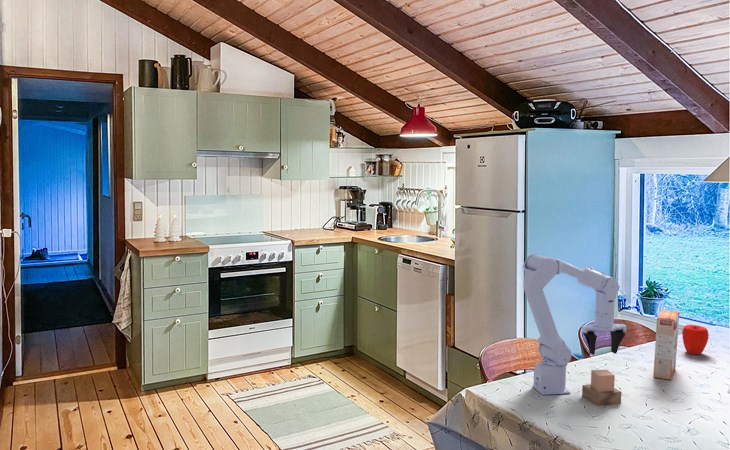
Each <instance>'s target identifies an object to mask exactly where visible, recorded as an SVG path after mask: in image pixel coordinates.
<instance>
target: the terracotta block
mask: <svg viewBox="0 0 730 450" xmlns="http://www.w3.org/2000/svg"><path fill="white" fill-rule="evenodd" d="M590 373H591V374H590V384H591V386H592V387H593V388H594V389H595V390H597V391H598V392H606V391H614V388H615V381H616V379H615V378H616V377H615V376H616V375H615V374H614V373H612V372H611V371H609V370H608V369H590Z"/></svg>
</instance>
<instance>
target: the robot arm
mask: <svg viewBox="0 0 730 450" xmlns="http://www.w3.org/2000/svg"><path fill="white" fill-rule="evenodd" d="M522 269H523V272H524V274H523V275H524V276H523V291H524V294H525V296H526V298H527V302H528V305H529V308H530V310H531V313H532V317H533V319H534V322H535V324H536V328H537V330H538V333H539V337H538V338H537V342H538V353H539V355H540V356H541V360H542V361H541V362H539V363H535V364H534V368H533V384H532V388H534V389H535V390H536V391H538V392H539V394H541V395H543V396H544V395H563V394H565V395H566V394H571V393H572V392H571V391H570V389H568V388H566V383H567V382H566V380H567V375H566V374H567V366H568V364H569V363H570V361H571V359H572V356H573V355H572V351H571V349H570V348H569V347H568V345H567V344H566V341H565V340H564V339H563V337H561V335H560V334H559V333H558V330H557V327H556V323H555V320H554V317H553V315H552V312H551V309H550V306H549V303H548V301H547V298H546V295H545V293H544V289H545V287H546V286H547V285H549V283H550V281H552V279H554V278H555V276H556V275H561V273H562V274H565V275H567V276H571V277H573V278H576V280H577V282H578V284H580V285H582V286H584V287H587V288H589V289H592V290H594V291H595V312H594V313H595V314H594V315H595V316H594V323H593V324H592V323H591V324H585V325H581V332H582V334H583V336H584V338H585V341H586V343H587V346H588V351H589V354H590V355H595V353H596V342H597V338H598V335H597V334H596V333H601V332H602V333H603V332H610V338H611V339H610V340H611V344H610V347H611V348H610V350H611V353H612V354H614V355H615V354H618V349H619V347H620V344H621V342H622V341H623V339H624V338H625V336H626V333H625V332H627V327H628V326H627V325H625V324H624V323H620V324H619V323H614V322H615V301H616V299H617V294H618V292H619V290H620V287H621V286H620V285H619V282H618V280H617V279H616V278H614V277H613V276H609V275H606V273H605V272H602V271H601V272H599V271H597V270H595V268H594V267H592V266H588V267H587V266H585V267H582V268H579V267H577V266H576V265H575V266H574V265H573V264H571V263H569V262H567V261H564V260H561V259H558V258H554V257H550V256H549V257H548V256H544V255H539V254H536V253H532V254H530V255H528V256H527V258H526V260H525V261H524V263H523V265H522Z"/></svg>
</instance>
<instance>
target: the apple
mask: <svg viewBox="0 0 730 450" xmlns="http://www.w3.org/2000/svg"><path fill="white" fill-rule="evenodd" d="M681 333H682V334H681V335H682V342H683V346H684V349H685V351H686V353H688V354H691V355H695V354H699V355H700V354H703V352H704V350H705V348H706V346H707V344H708V341H709V338H710V337H709V336H710V335H709V331H708V329H707V328H706V327H704V326H701V325H697V324H696V325H695V324H686V325H684V326H683V327H682V330H681Z"/></svg>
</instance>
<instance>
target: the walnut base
mask: <svg viewBox="0 0 730 450" xmlns="http://www.w3.org/2000/svg"><path fill="white" fill-rule="evenodd" d="M581 388H582V390H581V397H582V398H583V399H586V400H587V401H588V402H590V403H592V404H594V405H595V406H597V407H601V406H602V407H603V406H611V405H619V404H622V390H619V389H617V388H615V387H614V391H606V392H598V391H597V390H595V389H594V388H593V387H592V386H591V383H590V384H589V383H588V384H582V387H581Z"/></svg>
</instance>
